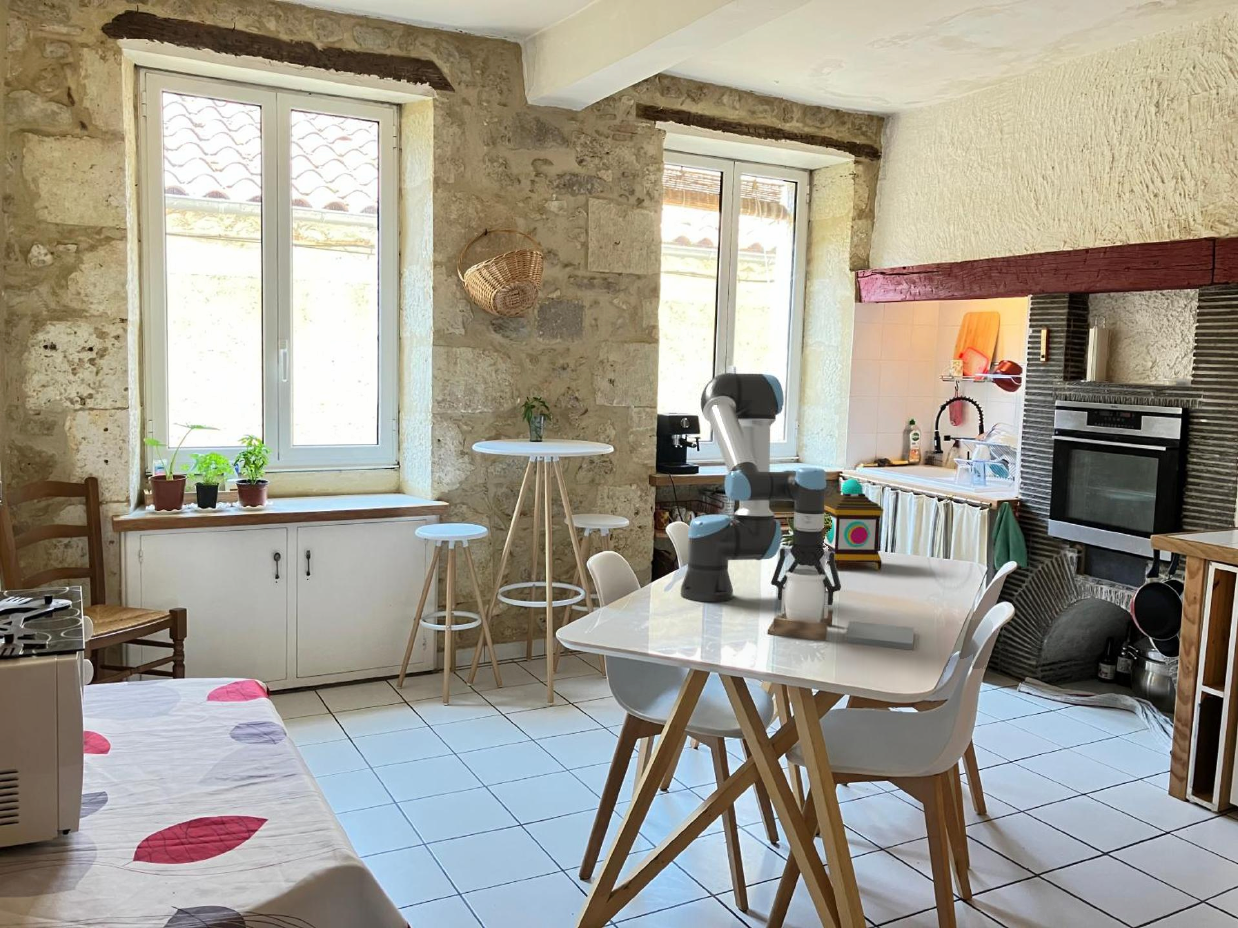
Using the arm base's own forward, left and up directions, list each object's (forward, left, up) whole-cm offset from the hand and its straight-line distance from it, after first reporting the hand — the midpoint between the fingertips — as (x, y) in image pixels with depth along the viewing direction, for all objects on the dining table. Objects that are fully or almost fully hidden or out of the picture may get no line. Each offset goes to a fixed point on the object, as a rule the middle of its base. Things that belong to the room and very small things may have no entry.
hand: (804, 614), depth 252 cm
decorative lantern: (+4, +92, -4) cm, 92 cm away
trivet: (+19, 0, -4) cm, 19 cm away
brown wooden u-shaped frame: (0, 0, -4) cm, 4 cm away
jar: (0, 0, -4) cm, 4 cm away
